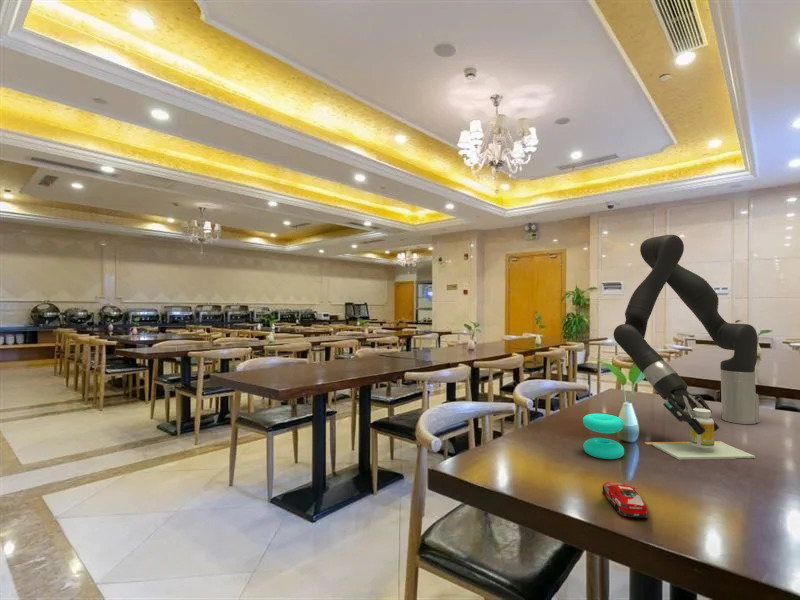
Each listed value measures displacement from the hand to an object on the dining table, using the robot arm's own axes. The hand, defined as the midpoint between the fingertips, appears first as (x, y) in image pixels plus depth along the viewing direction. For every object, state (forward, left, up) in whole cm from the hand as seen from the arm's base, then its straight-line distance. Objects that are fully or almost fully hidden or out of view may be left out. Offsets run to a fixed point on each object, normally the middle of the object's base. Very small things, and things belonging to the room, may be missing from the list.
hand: (709, 431), depth 112 cm
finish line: (+1, -9, -6) cm, 11 cm away
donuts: (+28, -2, -6) cm, 28 cm away
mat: (+1, -2, -6) cm, 6 cm away
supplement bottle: (+1, -2, -4) cm, 5 cm away
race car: (+38, +27, -7) cm, 47 cm away
